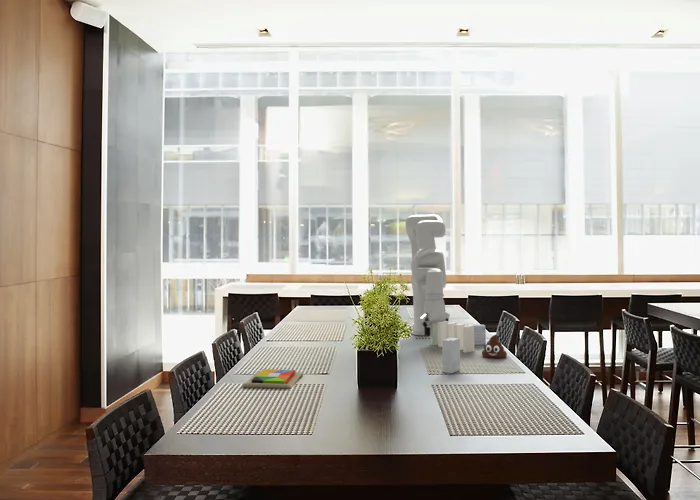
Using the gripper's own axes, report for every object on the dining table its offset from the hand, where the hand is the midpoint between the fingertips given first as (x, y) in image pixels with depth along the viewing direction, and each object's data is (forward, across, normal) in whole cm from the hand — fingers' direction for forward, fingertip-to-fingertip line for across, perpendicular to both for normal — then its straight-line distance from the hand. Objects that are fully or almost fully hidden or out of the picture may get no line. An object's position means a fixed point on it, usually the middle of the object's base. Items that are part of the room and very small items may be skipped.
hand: (435, 334), depth 269 cm
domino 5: (+4, 0, +21) cm, 21 cm away
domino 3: (+4, 0, +10) cm, 11 cm away
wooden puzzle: (+5, +88, +11) cm, 89 cm away
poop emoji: (+5, 0, +34) cm, 35 cm away
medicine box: (+5, -14, +12) cm, 19 cm away
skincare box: (+5, +30, +41) cm, 51 cm away
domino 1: (+4, 0, 0) cm, 5 cm away
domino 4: (+4, 0, +16) cm, 16 cm away
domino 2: (+4, 0, +5) cm, 7 cm away
